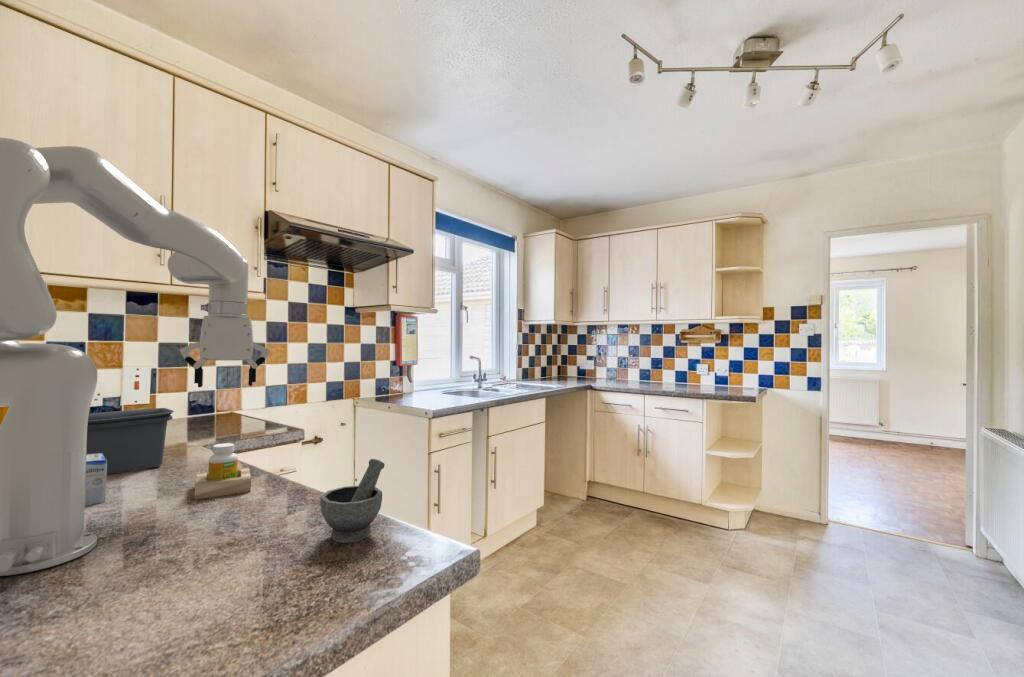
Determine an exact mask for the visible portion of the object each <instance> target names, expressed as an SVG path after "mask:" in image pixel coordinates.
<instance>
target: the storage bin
mask: <svg viewBox="0 0 1024 677" xmlns="http://www.w3.org/2000/svg"><path fill="white" fill-rule="evenodd" d="M174 412H175V411H174V410H172V409H169V408H166V407H157V408H156V407H155V408H153V407H152V408H139V409H129V410H127V409H126V410H117V411H115V410H114V411H103V412H94V413H93V412H92V413H89V416H88V426H87V454H101V453H102V454H103V456H104V457H105V459H106V460H107V476H110V475H116V474H121V473H122V474H123V473H127V472H133V471H138V470H145V469H151V468H157V467H160V466H162V465H163V460H164V455H165V454H164V453H165V445H166V435H167V427H168V421H171V420H173V415H172V414H173V413H174ZM87 454H86V455H87ZM109 474H110V475H109Z"/></svg>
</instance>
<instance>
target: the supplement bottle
mask: <svg viewBox="0 0 1024 677" xmlns="http://www.w3.org/2000/svg"><path fill="white" fill-rule="evenodd" d="M234 451H235V444H234V443H231V442H230V443H229V442H226V443H225V442H224V443H218V444H213V446H212V453H213V454H212V455H211V456H210V457H209V459H208V472H209V474H208V475H209V476H208V481H211V480H219V479H228V478H236V477H237V468H238V467H239V466H238V463H239V458H238V455H237V453H234Z"/></svg>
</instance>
